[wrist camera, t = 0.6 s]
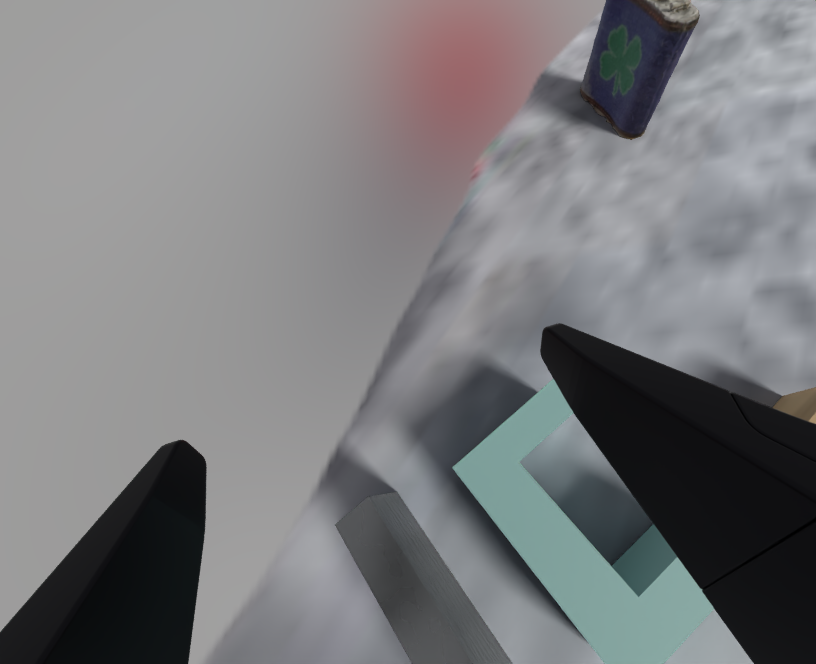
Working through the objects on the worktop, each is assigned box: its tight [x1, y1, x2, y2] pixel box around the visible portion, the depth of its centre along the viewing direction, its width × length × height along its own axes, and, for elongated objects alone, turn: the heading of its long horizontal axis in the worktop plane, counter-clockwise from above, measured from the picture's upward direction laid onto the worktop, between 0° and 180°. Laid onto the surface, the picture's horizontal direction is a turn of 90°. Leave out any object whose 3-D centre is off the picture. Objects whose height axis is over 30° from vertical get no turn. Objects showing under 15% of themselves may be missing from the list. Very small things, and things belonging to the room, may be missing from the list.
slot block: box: [452, 379, 714, 664], centre depth 18 cm, size 11×8×4 cm
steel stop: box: [335, 492, 512, 664], centre depth 16 cm, size 14×4×7 cm, turn 39°
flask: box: [580, 0, 700, 140], centre depth 28 cm, size 9×3×11 cm, turn 19°
